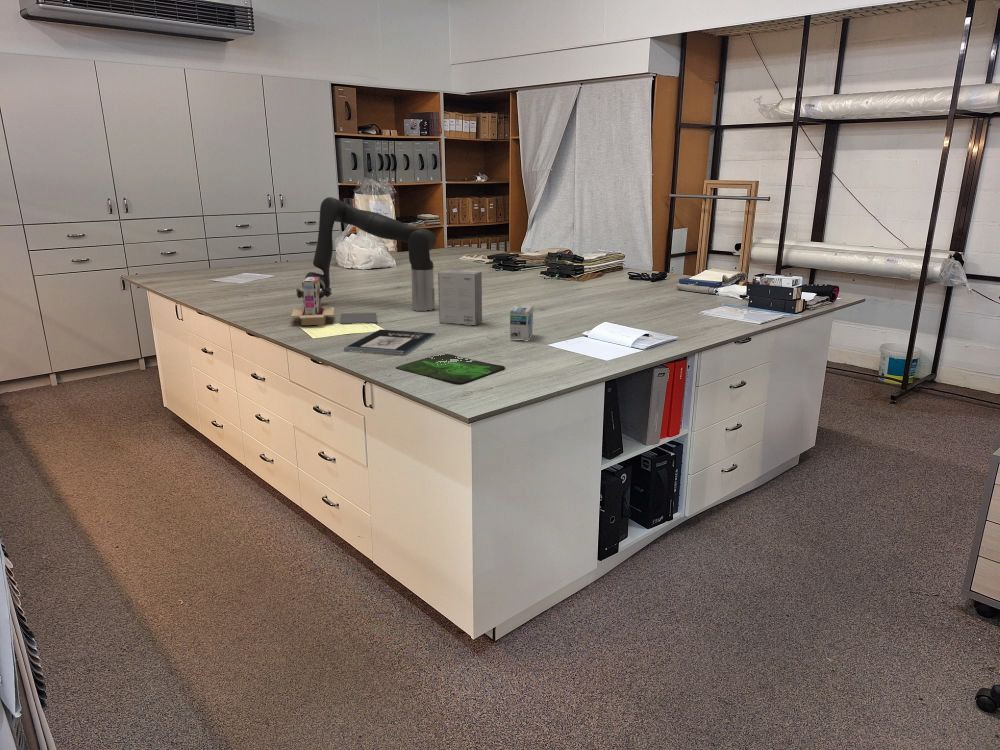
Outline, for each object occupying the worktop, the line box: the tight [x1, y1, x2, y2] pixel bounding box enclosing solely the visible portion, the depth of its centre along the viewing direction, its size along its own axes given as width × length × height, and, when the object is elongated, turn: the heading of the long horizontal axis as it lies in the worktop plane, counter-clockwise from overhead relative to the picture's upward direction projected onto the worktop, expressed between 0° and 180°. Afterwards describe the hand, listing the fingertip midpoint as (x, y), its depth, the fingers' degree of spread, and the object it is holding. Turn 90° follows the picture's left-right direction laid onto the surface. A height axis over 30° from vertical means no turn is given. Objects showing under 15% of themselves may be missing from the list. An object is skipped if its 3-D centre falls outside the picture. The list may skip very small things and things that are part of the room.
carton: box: [290, 305, 335, 326], centre depth 262 cm, size 16×22×4 cm
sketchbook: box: [343, 329, 436, 357], centre depth 232 cm, size 22×30×2 cm
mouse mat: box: [395, 353, 506, 385], centre depth 204 cm, size 27×22×1 cm
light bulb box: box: [509, 304, 534, 341], centre depth 240 cm, size 11×7×11 cm, turn 169°
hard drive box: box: [437, 269, 483, 326], centre depth 260 cm, size 16×8×20 cm, turn 71°
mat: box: [339, 312, 378, 325], centre depth 268 cm, size 14×18×1 cm
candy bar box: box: [301, 277, 322, 315], centre depth 260 cm, size 11×5×16 cm, turn 5°
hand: (312, 296), depth 260 cm, fingers closed on candy bar box, 5 cm apart
